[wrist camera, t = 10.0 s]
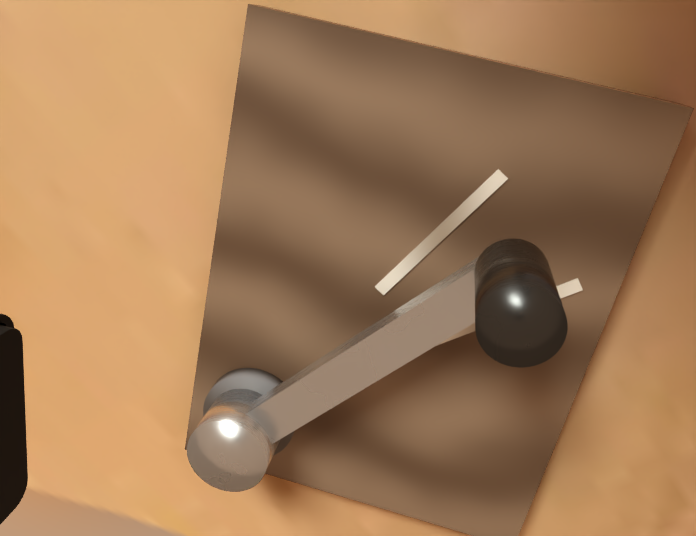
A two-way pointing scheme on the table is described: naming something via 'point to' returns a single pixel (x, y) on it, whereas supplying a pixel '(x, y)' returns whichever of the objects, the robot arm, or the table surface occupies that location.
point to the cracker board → (417, 251)
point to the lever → (389, 357)
